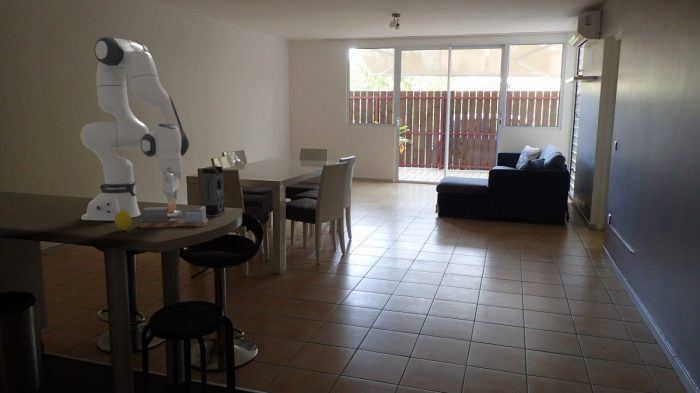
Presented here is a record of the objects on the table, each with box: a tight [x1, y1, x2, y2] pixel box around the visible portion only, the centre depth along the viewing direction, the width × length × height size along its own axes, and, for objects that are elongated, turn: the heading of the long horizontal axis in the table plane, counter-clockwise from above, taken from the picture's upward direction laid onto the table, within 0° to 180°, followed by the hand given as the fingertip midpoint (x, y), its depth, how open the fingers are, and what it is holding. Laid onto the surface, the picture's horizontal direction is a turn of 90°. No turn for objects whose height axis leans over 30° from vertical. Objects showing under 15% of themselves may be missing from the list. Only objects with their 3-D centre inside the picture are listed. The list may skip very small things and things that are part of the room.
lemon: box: [114, 210, 132, 232], centre depth 196 cm, size 6×6×8 cm
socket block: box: [184, 205, 207, 222], centre depth 207 cm, size 6×6×5 cm
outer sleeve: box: [141, 206, 172, 223], centre depth 206 cm, size 9×5×5 cm, turn 93°
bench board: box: [138, 217, 209, 228], centre depth 207 cm, size 24×8×2 cm, turn 94°
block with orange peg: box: [141, 197, 182, 219], centre depth 206 cm, size 14×4×8 cm, turn 94°
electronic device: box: [201, 165, 226, 218], centre depth 224 cm, size 9×6×20 cm, turn 168°
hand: (172, 202), depth 205 cm, fingers open, 8 cm apart
